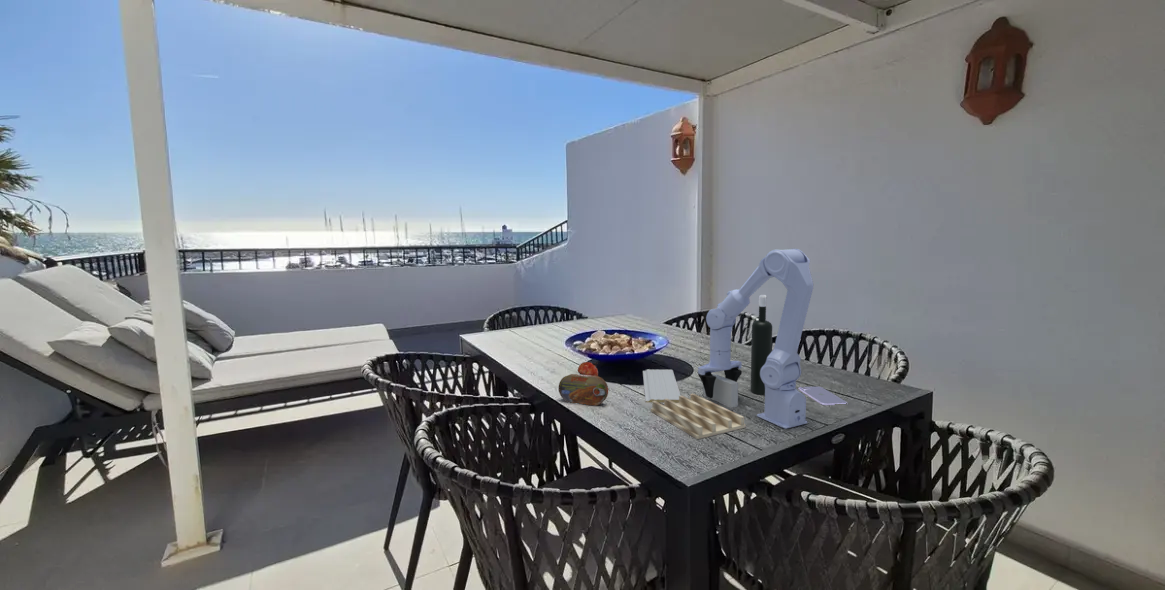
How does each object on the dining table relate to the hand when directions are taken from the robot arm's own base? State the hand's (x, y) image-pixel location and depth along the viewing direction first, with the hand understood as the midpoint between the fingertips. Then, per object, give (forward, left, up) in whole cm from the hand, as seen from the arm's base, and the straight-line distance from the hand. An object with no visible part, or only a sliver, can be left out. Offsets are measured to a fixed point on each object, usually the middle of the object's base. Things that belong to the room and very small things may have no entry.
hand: (719, 395), depth 132 cm
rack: (-8, +15, -2) cm, 17 cm away
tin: (+17, +36, -2) cm, 40 cm away
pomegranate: (+34, +27, -2) cm, 43 cm away
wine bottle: (0, -16, -2) cm, 16 cm away
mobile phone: (-11, -29, -2) cm, 31 cm away
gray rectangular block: (0, 0, -2) cm, 2 cm away
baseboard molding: (+20, +8, -2) cm, 22 cm away
